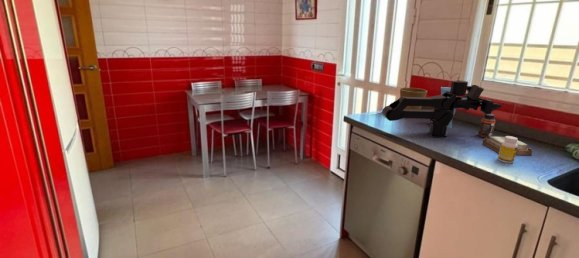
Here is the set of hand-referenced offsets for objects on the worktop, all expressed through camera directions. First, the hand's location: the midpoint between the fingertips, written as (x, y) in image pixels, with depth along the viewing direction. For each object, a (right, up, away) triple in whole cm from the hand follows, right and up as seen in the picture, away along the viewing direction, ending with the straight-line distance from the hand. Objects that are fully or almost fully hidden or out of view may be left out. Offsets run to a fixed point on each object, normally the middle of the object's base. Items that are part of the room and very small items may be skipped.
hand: (495, 103), depth 150 cm
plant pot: (-26, -5, +38) cm, 46 cm away
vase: (-14, -10, +22) cm, 28 cm away
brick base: (-3, -21, -11) cm, 24 cm away
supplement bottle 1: (-2, -16, +5) cm, 17 cm away
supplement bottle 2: (-11, -25, -24) cm, 36 cm away
